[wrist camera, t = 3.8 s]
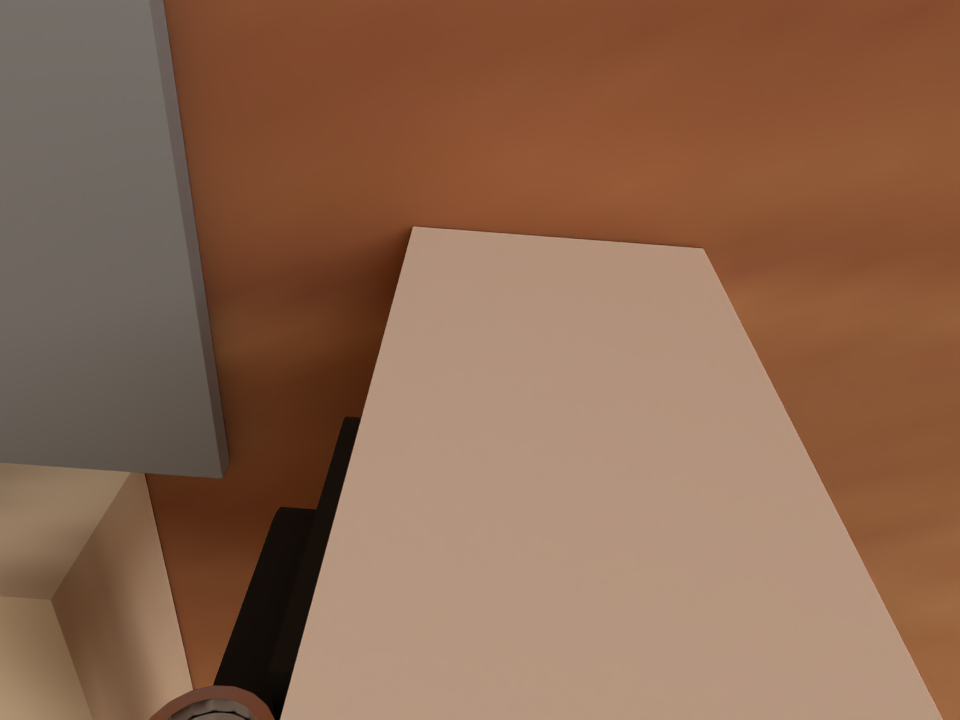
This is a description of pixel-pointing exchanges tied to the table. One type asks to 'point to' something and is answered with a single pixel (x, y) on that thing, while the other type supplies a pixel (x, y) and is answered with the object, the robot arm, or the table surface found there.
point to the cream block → (585, 510)
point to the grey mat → (100, 248)
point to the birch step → (84, 598)
